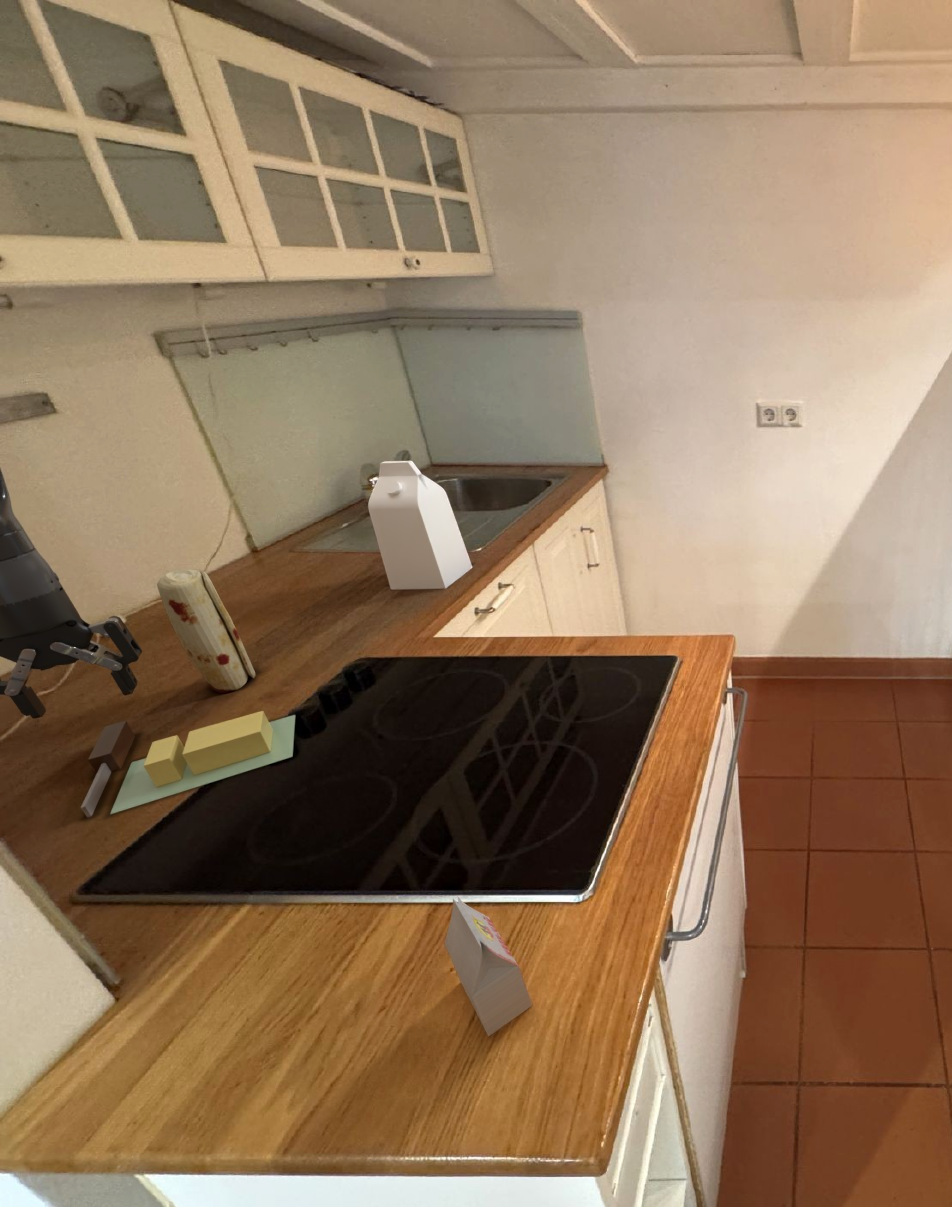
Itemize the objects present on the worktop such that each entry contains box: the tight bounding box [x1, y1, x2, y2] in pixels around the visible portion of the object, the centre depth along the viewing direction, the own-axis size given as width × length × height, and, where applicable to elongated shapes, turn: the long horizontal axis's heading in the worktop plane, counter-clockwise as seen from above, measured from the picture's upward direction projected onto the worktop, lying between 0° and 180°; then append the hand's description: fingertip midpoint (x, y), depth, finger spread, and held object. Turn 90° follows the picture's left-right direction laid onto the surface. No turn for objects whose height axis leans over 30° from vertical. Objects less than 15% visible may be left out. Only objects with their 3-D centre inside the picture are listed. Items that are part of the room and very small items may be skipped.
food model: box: [156, 568, 256, 694], centre depth 103 cm, size 10×7×20 cm
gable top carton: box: [444, 896, 533, 1037], centre depth 56 cm, size 4×7×10 cm, turn 45°
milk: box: [367, 460, 473, 591], centre depth 140 cm, size 12×12×26 cm
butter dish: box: [109, 714, 296, 815], centre depth 88 cm, size 18×12×1 cm, turn 125°
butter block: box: [182, 710, 273, 775], centre depth 89 cm, size 8×6×4 cm
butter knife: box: [80, 720, 136, 818], centre depth 86 cm, size 2×19×4 cm, turn 35°
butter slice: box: [143, 734, 187, 787], centre depth 85 cm, size 2×6×4 cm, turn 35°
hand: (86, 703), depth 86 cm, fingers open, 8 cm apart
